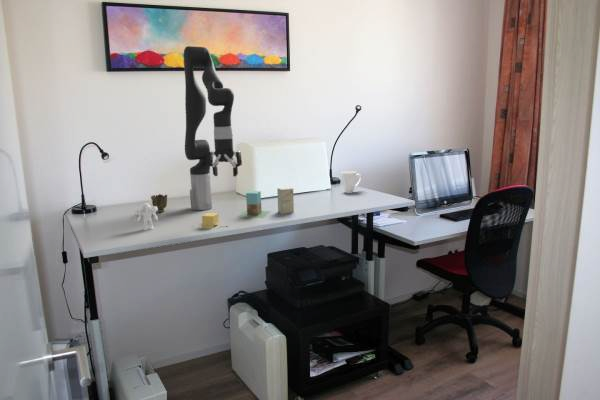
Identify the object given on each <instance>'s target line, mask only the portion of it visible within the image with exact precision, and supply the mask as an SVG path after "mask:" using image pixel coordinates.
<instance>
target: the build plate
mask: <svg viewBox="0 0 600 400" xmlns="http://www.w3.org/2000/svg"><path fill="white" fill-rule="evenodd" d="M261 211H262V213H261V214H259V215H247V209H246V210H245V211H244V212H242V213H240V214H239V215H237V218H257V219H258V218H259V219H264V218H265V217H266V216H267V215H269V214H270V213H271V212H272V210H271V211H270V210H261Z"/></svg>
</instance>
